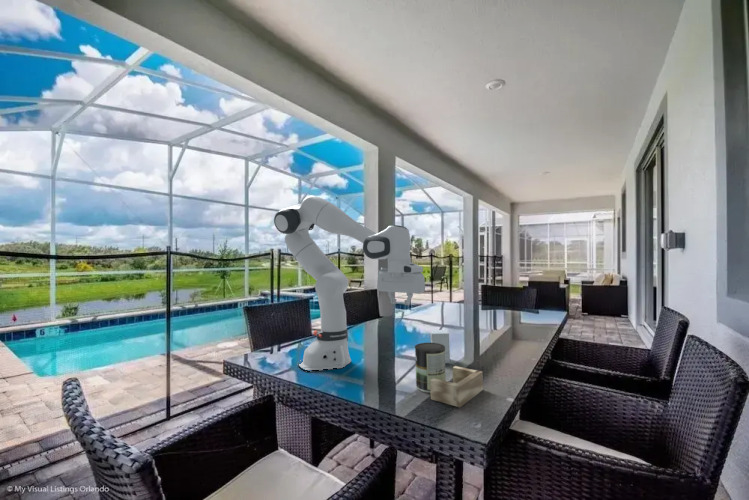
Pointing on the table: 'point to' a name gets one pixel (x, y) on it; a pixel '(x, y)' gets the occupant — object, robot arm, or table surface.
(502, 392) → the table surface
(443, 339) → the supplement box
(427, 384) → the coffee can
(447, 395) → the wooden dock
